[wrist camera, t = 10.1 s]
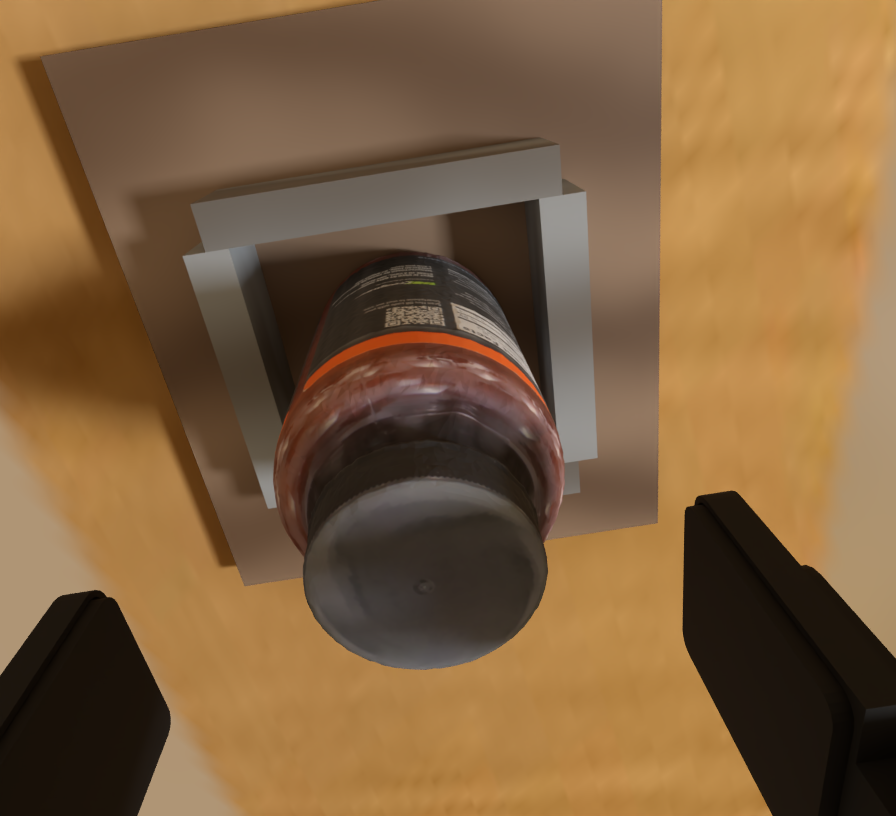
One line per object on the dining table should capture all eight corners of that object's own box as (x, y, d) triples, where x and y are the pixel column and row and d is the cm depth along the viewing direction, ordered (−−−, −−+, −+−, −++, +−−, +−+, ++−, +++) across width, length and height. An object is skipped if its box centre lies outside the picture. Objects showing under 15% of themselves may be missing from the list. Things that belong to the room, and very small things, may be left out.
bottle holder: (647, 504, 25) (683, 567, 22) (251, 565, 25) (228, 636, 22) (646, -38, 17) (703, -69, 14) (62, 58, 17) (-19, 51, 14)
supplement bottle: (387, 451, 22) (369, 758, 12) (280, 310, 20) (145, 548, 9) (539, 366, 21) (663, 626, 11) (446, 206, 18) (495, 348, 8)
